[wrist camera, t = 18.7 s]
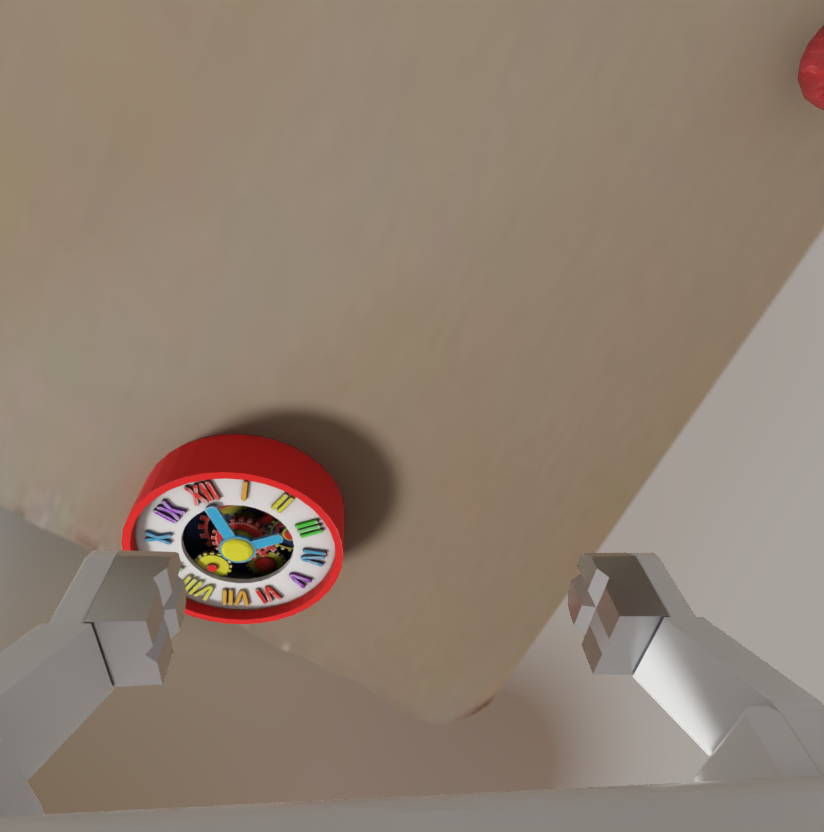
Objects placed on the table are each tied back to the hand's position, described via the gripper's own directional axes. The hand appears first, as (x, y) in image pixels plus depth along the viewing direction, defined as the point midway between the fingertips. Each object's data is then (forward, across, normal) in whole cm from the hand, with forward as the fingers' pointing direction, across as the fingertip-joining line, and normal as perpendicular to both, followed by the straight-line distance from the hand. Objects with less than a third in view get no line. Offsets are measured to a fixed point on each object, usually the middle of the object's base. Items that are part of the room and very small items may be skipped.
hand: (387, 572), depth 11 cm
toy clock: (+35, +11, +31) cm, 48 cm away
